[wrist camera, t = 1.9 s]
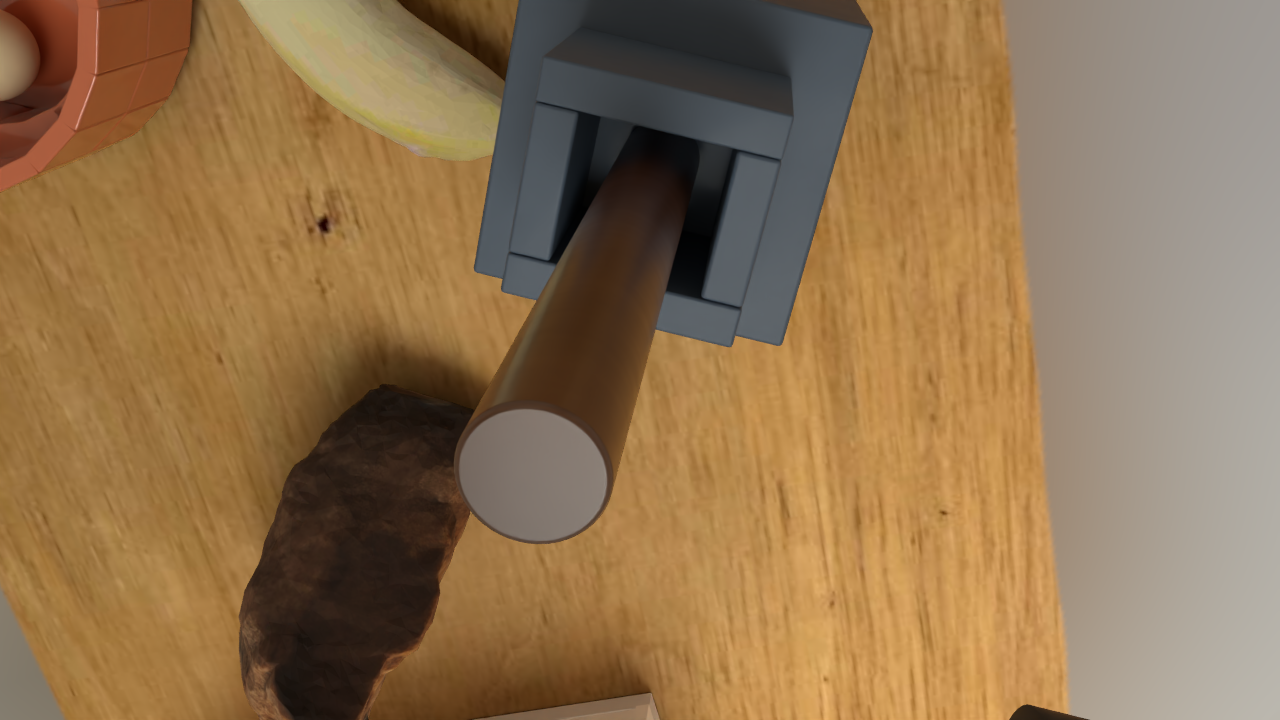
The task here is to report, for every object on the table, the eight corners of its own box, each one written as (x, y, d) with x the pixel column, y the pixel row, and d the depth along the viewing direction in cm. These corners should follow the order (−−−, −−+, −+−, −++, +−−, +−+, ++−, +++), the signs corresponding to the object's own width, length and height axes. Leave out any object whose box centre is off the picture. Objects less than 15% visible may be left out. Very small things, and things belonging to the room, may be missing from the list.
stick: (631, 110, 24) (466, 385, 11) (707, 129, 24) (627, 425, 11) (615, 184, 25) (440, 525, 12) (689, 202, 25) (594, 563, 12)
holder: (608, -79, 34) (480, -43, 19) (842, -24, 34) (892, 57, 19) (563, 152, 37) (421, 339, 22) (780, 205, 37) (782, 428, 22)
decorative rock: (408, 660, 45) (304, 881, 35) (263, 593, 45) (117, 799, 35) (532, 413, 40) (453, 589, 31) (373, 336, 40) (240, 489, 30)
